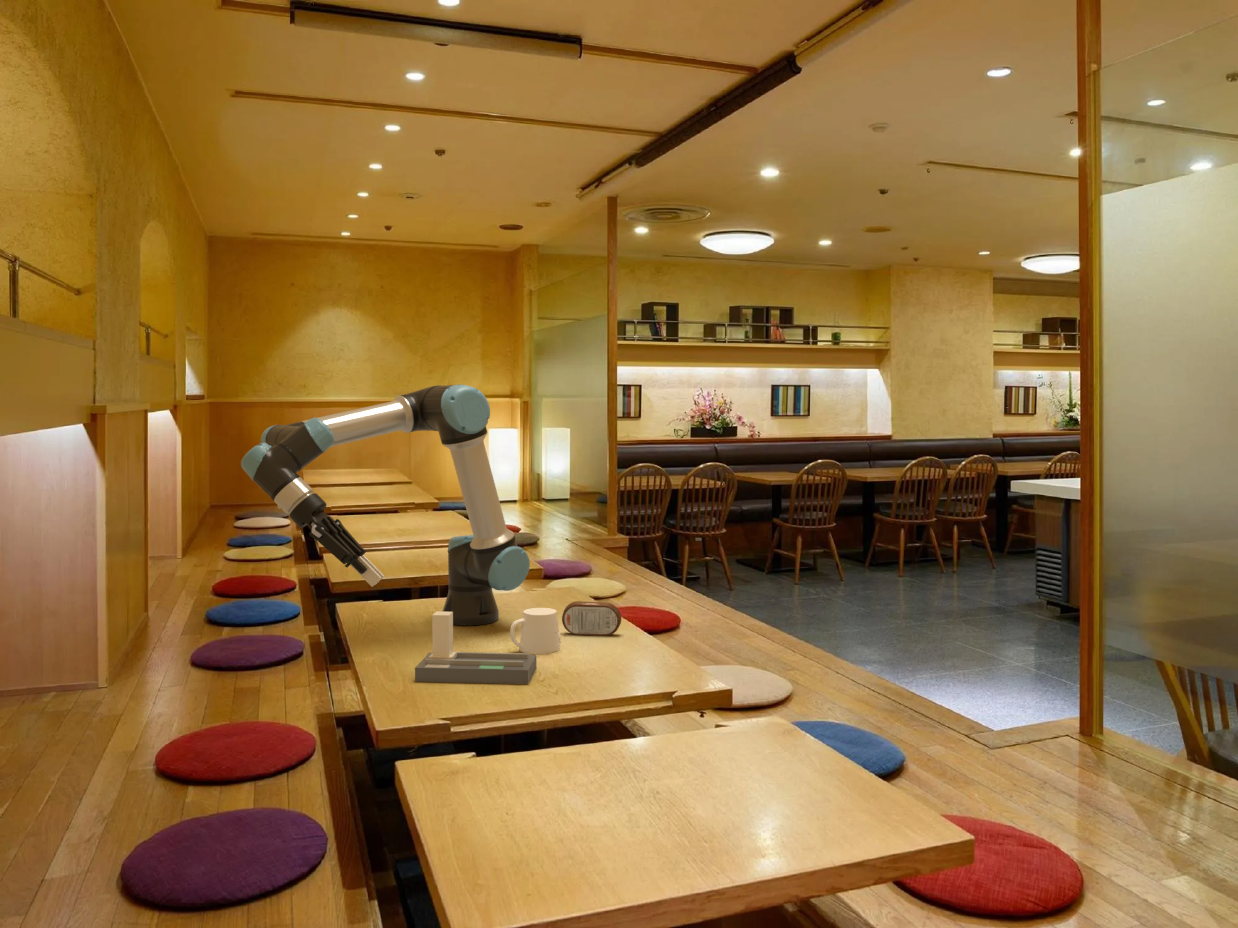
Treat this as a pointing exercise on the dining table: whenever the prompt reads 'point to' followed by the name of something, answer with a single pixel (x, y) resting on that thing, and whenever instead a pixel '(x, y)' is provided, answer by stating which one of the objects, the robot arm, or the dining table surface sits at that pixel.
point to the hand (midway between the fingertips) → (378, 581)
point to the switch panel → (478, 668)
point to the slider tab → (442, 636)
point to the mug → (537, 631)
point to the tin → (591, 618)
